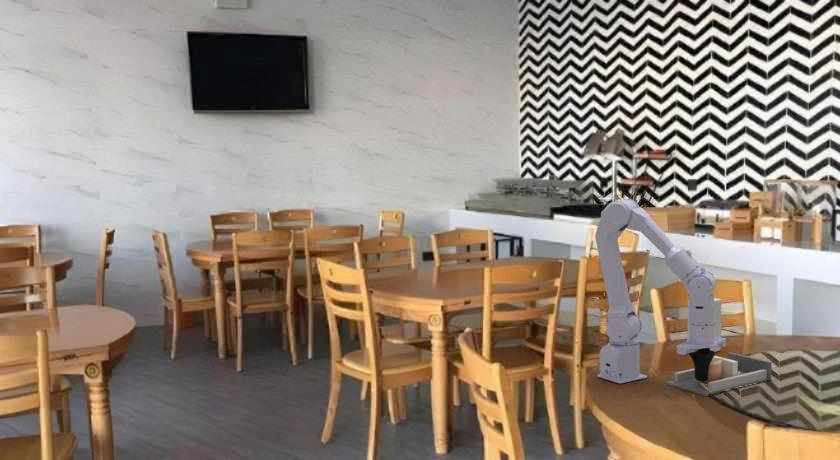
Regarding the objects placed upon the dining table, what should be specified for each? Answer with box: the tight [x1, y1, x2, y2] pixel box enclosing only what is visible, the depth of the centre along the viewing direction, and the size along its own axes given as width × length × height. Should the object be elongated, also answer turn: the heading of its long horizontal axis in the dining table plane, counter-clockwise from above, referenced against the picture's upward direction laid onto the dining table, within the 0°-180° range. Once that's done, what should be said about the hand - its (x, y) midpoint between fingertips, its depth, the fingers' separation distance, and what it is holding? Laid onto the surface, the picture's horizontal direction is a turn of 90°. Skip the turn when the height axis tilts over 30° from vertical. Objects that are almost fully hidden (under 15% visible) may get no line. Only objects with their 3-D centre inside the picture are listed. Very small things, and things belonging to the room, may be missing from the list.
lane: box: [664, 351, 772, 397], centre depth 191 cm, size 24×12×4 cm, turn 120°
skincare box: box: [686, 297, 722, 353], centre depth 220 cm, size 8×6×15 cm
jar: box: [699, 357, 722, 384], centre depth 190 cm, size 5×5×6 cm
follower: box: [714, 355, 738, 379], centre depth 191 cm, size 2×8×5 cm, turn 30°
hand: (701, 380), depth 188 cm, fingers closed, pressing on jar
